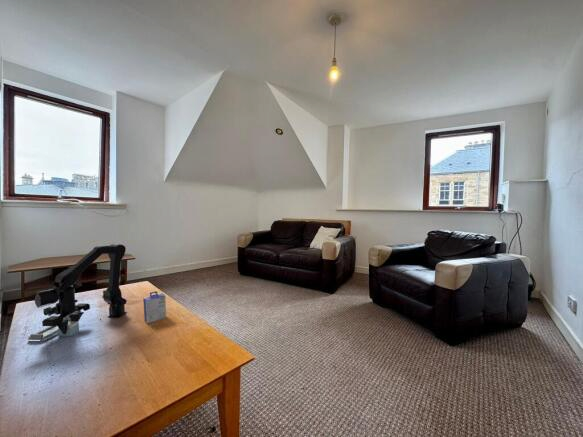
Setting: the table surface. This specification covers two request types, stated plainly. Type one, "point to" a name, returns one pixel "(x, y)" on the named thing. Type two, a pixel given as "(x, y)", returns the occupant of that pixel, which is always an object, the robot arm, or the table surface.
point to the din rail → (46, 333)
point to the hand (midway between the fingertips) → (68, 331)
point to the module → (70, 328)
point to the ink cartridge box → (154, 307)
